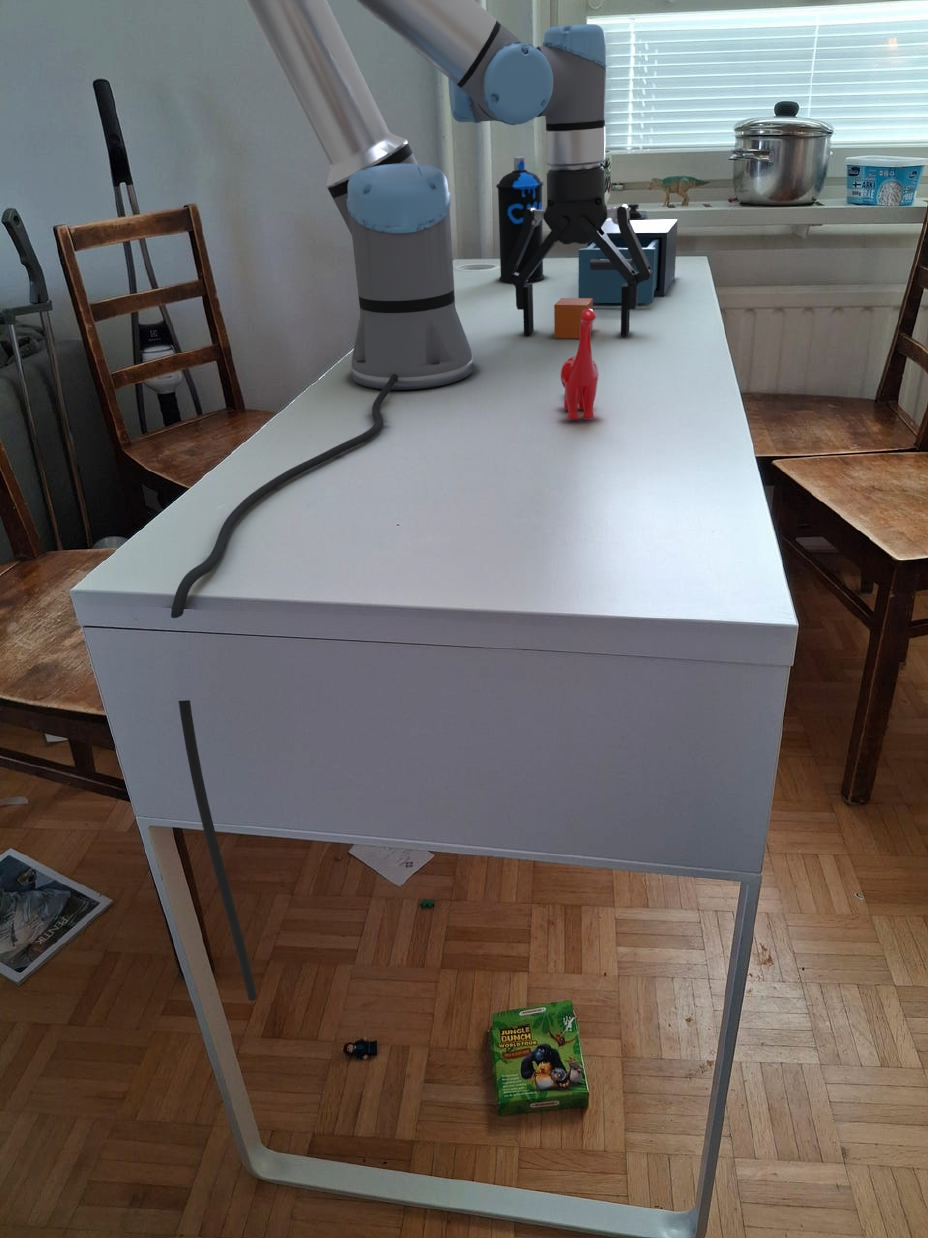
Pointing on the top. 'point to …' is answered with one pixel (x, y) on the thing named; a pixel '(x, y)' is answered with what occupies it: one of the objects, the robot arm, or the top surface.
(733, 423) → the top surface
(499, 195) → the aerosol can
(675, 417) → the top surface
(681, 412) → the top surface
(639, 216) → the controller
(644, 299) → the drawer
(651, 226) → the cabinet
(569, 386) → the dinosaur
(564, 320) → the cube
